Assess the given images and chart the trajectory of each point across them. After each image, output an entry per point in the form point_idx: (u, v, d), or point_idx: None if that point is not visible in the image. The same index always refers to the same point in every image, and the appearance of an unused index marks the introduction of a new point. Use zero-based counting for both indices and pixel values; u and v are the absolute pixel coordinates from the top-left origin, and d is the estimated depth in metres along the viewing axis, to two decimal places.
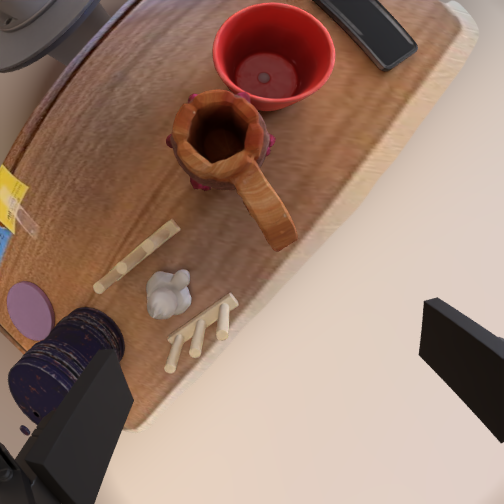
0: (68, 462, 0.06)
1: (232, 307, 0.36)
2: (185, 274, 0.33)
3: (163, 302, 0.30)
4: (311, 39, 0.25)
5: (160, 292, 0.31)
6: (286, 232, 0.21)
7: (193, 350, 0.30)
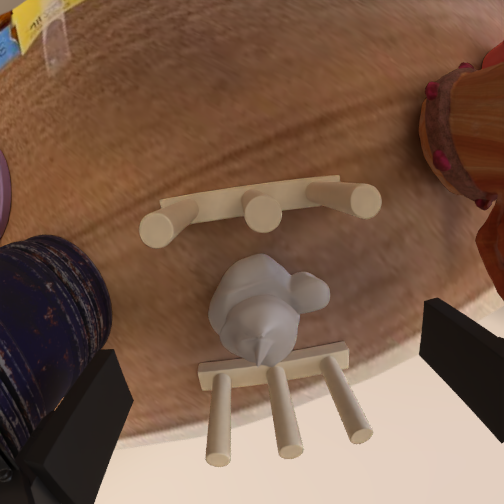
0: (68, 463, 0.06)
1: None
2: (328, 290, 0.16)
3: (283, 335, 0.13)
4: None
5: (282, 308, 0.13)
6: None
7: (292, 447, 0.12)
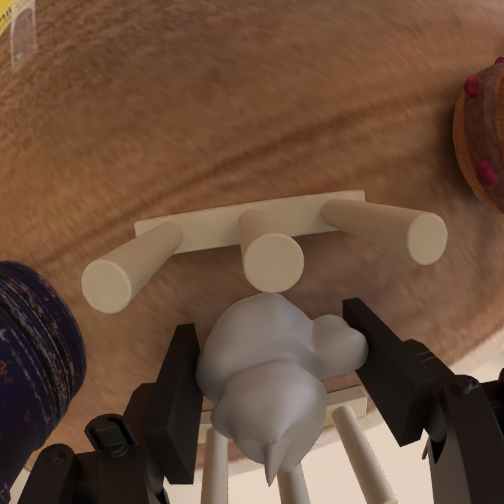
0: (179, 427, 0.08)
1: None
2: (367, 345, 0.10)
3: (307, 429, 0.07)
4: None
5: (306, 389, 0.08)
6: None
7: None
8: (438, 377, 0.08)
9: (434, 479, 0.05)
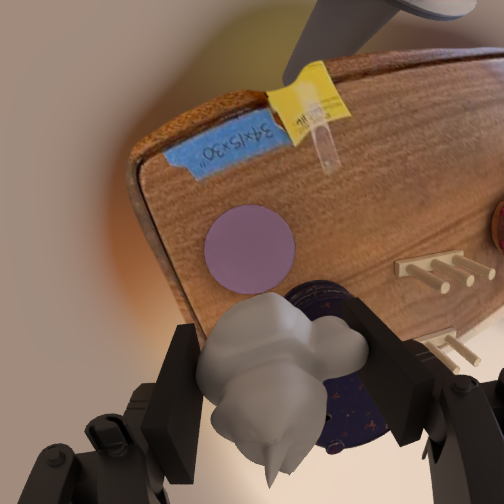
0: (179, 427, 0.08)
1: None
2: (367, 346, 0.10)
3: (307, 430, 0.07)
4: None
5: (306, 391, 0.08)
6: None
7: (457, 369, 0.27)
8: (438, 377, 0.08)
9: (434, 479, 0.05)
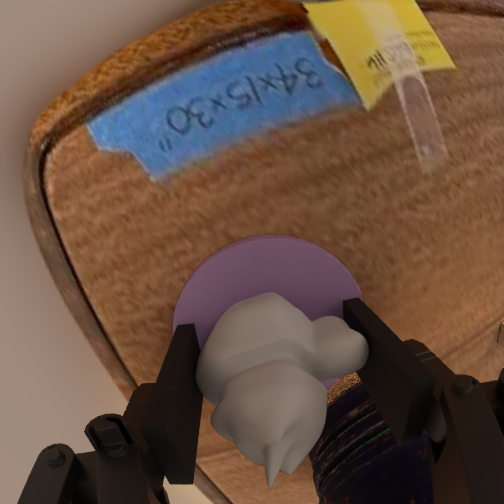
0: (179, 427, 0.08)
1: None
2: (367, 346, 0.10)
3: (307, 430, 0.07)
4: None
5: (306, 390, 0.08)
6: None
7: None
8: (438, 376, 0.08)
9: (434, 479, 0.05)
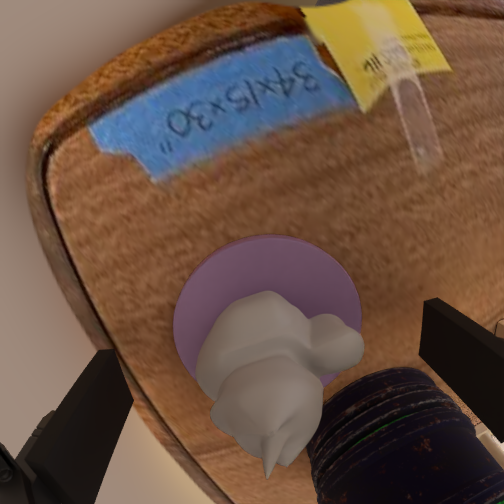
0: (68, 462, 0.06)
1: None
2: (363, 343, 0.11)
3: (304, 423, 0.08)
4: None
5: (303, 385, 0.08)
6: None
7: None
8: None
9: None
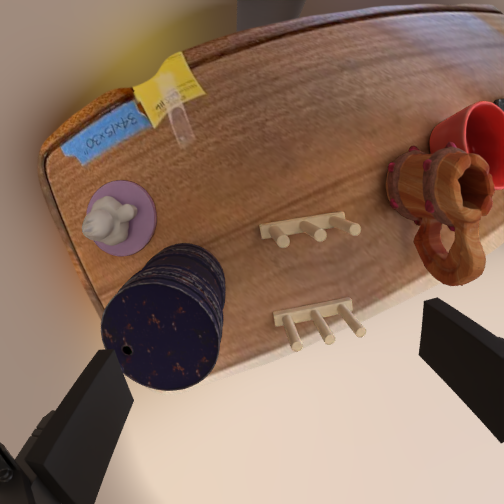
0: (68, 462, 0.06)
1: None
2: (132, 209, 0.31)
3: (98, 223, 0.28)
4: (503, 148, 0.28)
5: (100, 212, 0.28)
6: (475, 277, 0.24)
7: (330, 337, 0.31)
8: None
9: None
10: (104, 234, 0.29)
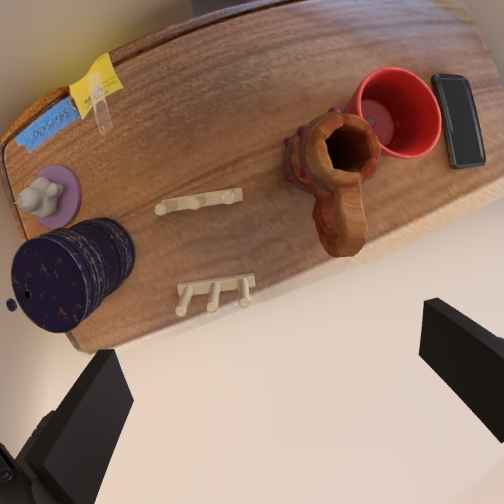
0: (69, 463, 0.06)
1: (249, 285, 0.40)
2: (56, 186, 0.33)
3: (27, 197, 0.30)
4: (424, 118, 0.30)
5: (30, 189, 0.30)
6: (357, 246, 0.26)
7: (212, 304, 0.33)
8: None
9: None
10: (32, 206, 0.30)
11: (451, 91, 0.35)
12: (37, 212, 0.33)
